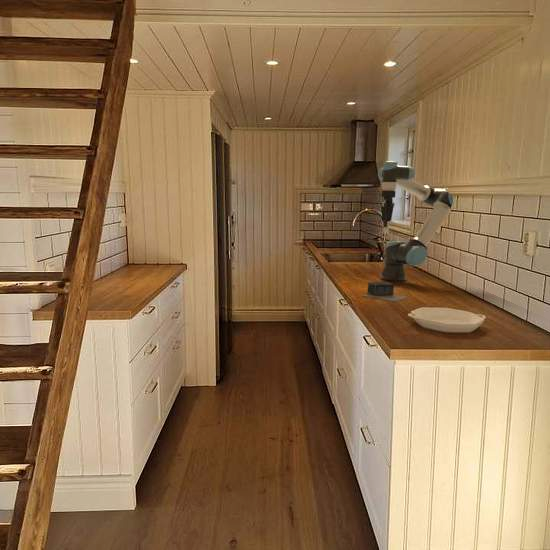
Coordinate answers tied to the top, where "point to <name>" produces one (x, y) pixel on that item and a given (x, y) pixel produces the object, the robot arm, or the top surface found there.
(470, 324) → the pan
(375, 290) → the box
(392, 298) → the mat
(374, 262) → the top surface
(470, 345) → the top surface
